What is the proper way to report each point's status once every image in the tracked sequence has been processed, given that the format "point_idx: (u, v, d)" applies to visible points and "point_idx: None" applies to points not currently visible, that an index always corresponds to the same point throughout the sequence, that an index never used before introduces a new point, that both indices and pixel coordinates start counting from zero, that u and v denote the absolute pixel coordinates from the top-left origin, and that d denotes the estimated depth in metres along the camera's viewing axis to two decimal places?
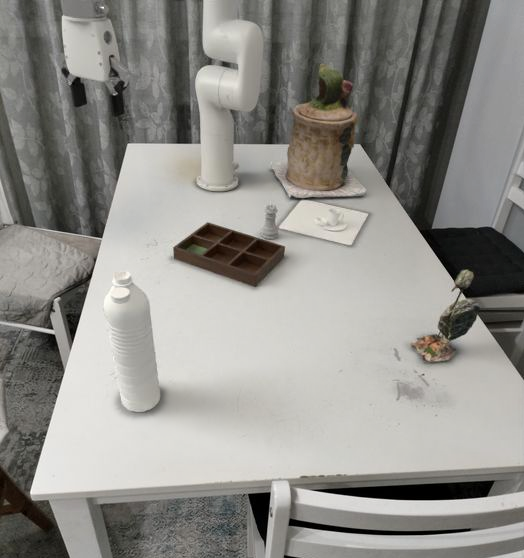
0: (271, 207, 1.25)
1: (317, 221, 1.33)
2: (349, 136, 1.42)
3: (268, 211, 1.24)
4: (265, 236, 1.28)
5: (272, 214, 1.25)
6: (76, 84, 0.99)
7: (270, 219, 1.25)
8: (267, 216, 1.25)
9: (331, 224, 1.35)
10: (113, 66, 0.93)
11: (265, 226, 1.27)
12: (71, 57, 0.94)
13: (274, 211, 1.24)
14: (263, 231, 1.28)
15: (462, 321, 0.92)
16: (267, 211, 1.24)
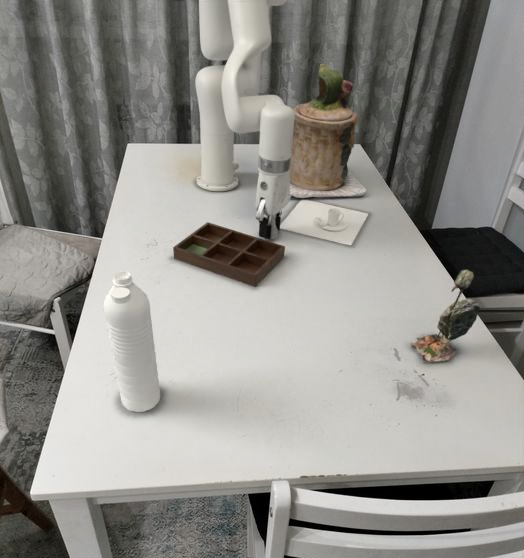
0: None
1: (317, 221, 1.33)
2: (349, 136, 1.42)
3: None
4: None
5: None
6: None
7: None
8: (267, 216, 1.25)
9: (331, 224, 1.35)
10: None
11: None
12: None
13: None
14: None
15: (462, 321, 0.92)
16: None
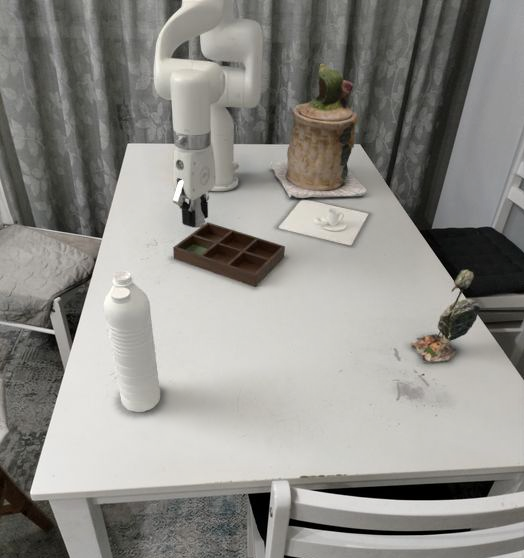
0: None
1: (317, 221, 1.33)
2: (349, 136, 1.42)
3: None
4: None
5: (196, 199, 1.09)
6: None
7: (194, 204, 1.10)
8: None
9: (331, 224, 1.35)
10: None
11: None
12: None
13: None
14: None
15: (462, 321, 0.92)
16: None
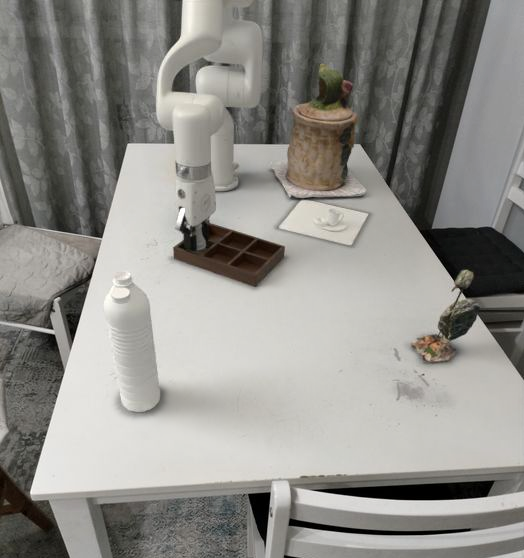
0: None
1: (317, 221, 1.33)
2: (349, 136, 1.42)
3: None
4: None
5: None
6: None
7: (195, 229, 1.14)
8: None
9: (331, 224, 1.35)
10: None
11: None
12: None
13: None
14: None
15: (462, 321, 0.92)
16: None
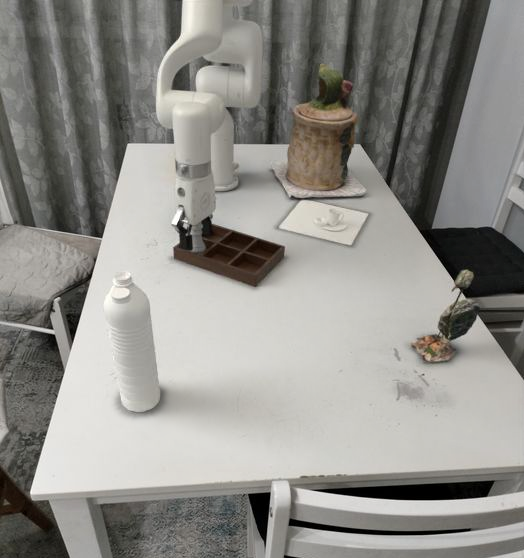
0: None
1: (317, 221, 1.33)
2: (349, 136, 1.42)
3: (192, 227, 1.14)
4: None
5: (197, 230, 1.15)
6: (203, 218, 1.18)
7: (195, 235, 1.16)
8: (192, 232, 1.15)
9: (331, 224, 1.35)
10: None
11: None
12: None
13: (199, 227, 1.14)
14: None
15: (462, 321, 0.92)
16: None
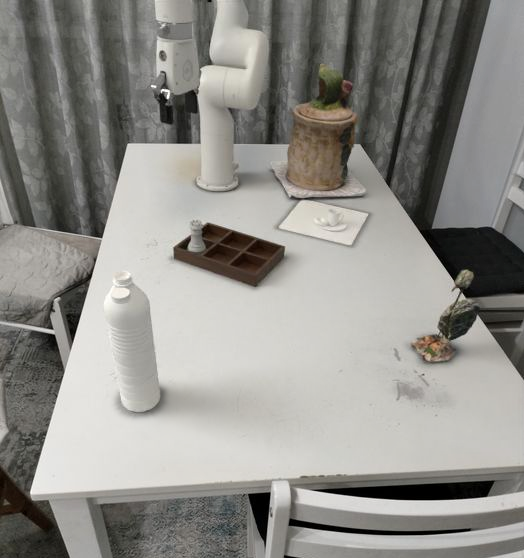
0: (196, 222, 1.15)
1: (317, 221, 1.33)
2: (349, 136, 1.42)
3: (192, 227, 1.14)
4: None
5: (197, 230, 1.15)
6: (188, 93, 1.16)
7: (195, 235, 1.16)
8: (192, 232, 1.15)
9: (331, 224, 1.35)
10: None
11: (191, 243, 1.17)
12: None
13: (199, 227, 1.14)
14: (189, 248, 1.18)
15: (462, 321, 0.92)
16: (191, 227, 1.14)
